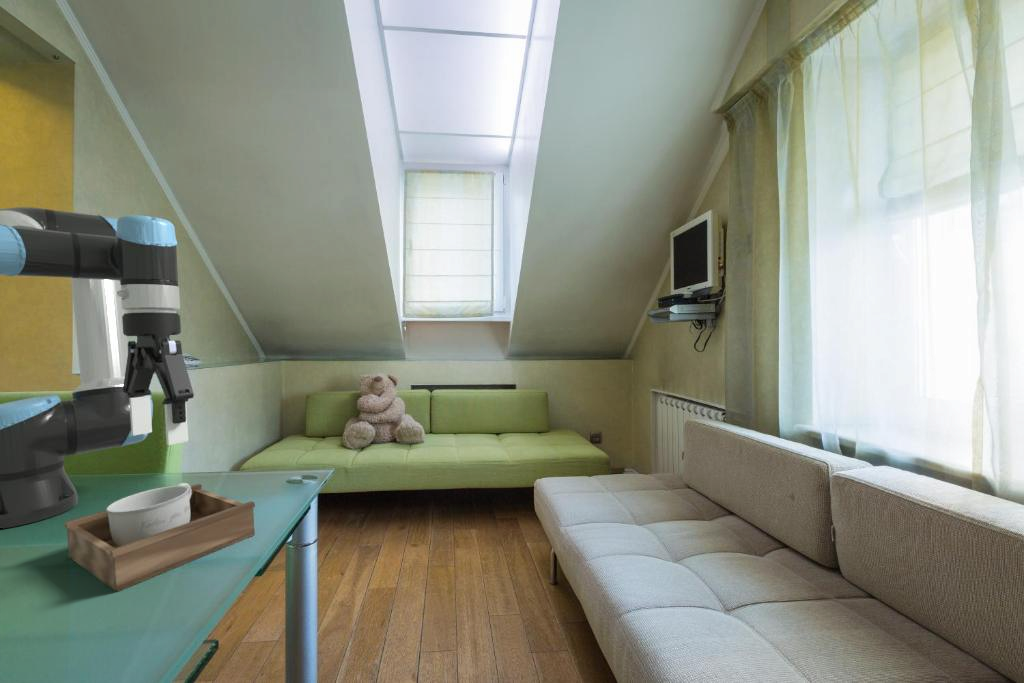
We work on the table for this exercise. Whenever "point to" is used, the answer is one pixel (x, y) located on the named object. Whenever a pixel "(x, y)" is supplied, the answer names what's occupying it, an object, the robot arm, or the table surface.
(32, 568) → the table surface
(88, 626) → the table surface
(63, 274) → the robot arm
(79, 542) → the crate
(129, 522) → the teacup
